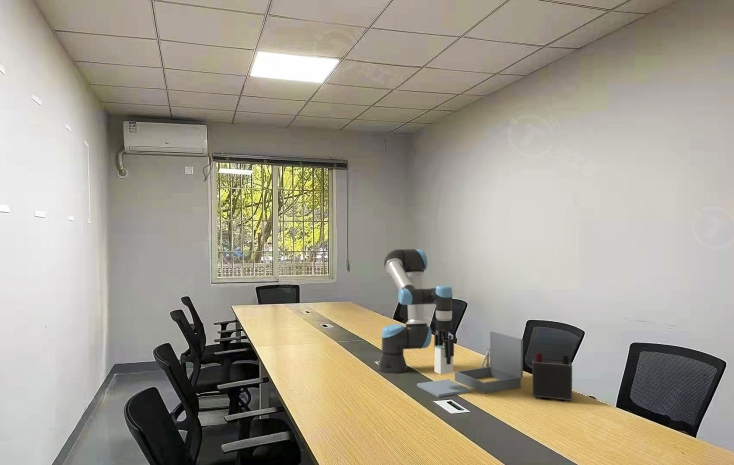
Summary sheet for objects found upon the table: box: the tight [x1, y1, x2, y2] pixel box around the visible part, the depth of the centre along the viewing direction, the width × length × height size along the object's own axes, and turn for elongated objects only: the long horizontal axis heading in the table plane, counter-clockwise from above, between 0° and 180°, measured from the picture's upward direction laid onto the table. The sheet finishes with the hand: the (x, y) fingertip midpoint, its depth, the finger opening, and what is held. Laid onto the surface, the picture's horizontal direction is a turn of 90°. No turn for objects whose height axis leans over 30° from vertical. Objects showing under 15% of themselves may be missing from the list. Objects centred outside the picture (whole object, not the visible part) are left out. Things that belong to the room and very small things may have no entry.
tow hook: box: [485, 347, 490, 367], centre depth 262 cm, size 8×13×9 cm
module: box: [433, 344, 454, 375], centre depth 230 cm, size 5×7×12 cm
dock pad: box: [416, 378, 472, 398], centre depth 230 cm, size 18×18×1 cm
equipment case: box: [454, 331, 524, 394], centre depth 240 cm, size 23×23×22 cm
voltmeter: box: [532, 352, 573, 403], centre depth 222 cm, size 16×16×20 cm
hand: (443, 369), depth 230 cm, fingers closed on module, 5 cm apart
